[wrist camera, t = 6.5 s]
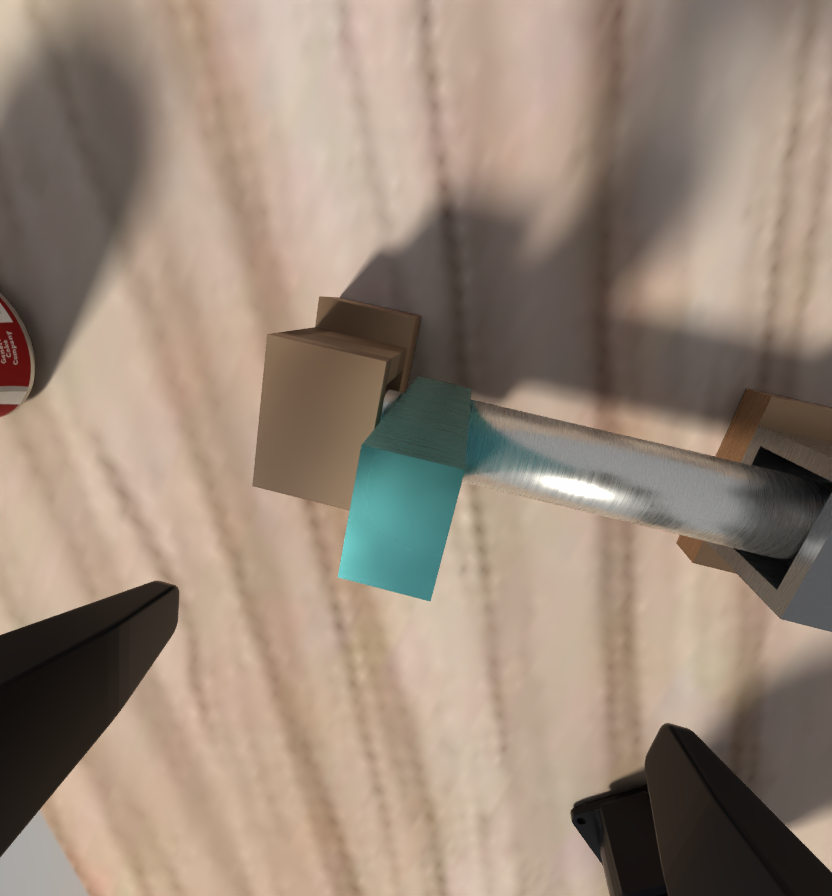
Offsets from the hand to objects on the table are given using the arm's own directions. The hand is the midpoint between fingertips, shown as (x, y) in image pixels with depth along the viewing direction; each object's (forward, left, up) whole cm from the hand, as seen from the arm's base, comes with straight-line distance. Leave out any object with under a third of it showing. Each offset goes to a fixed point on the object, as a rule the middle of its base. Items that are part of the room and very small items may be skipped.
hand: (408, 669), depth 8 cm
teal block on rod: (-2, -5, -10) cm, 11 cm away
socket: (+4, +2, -12) cm, 13 cm away
